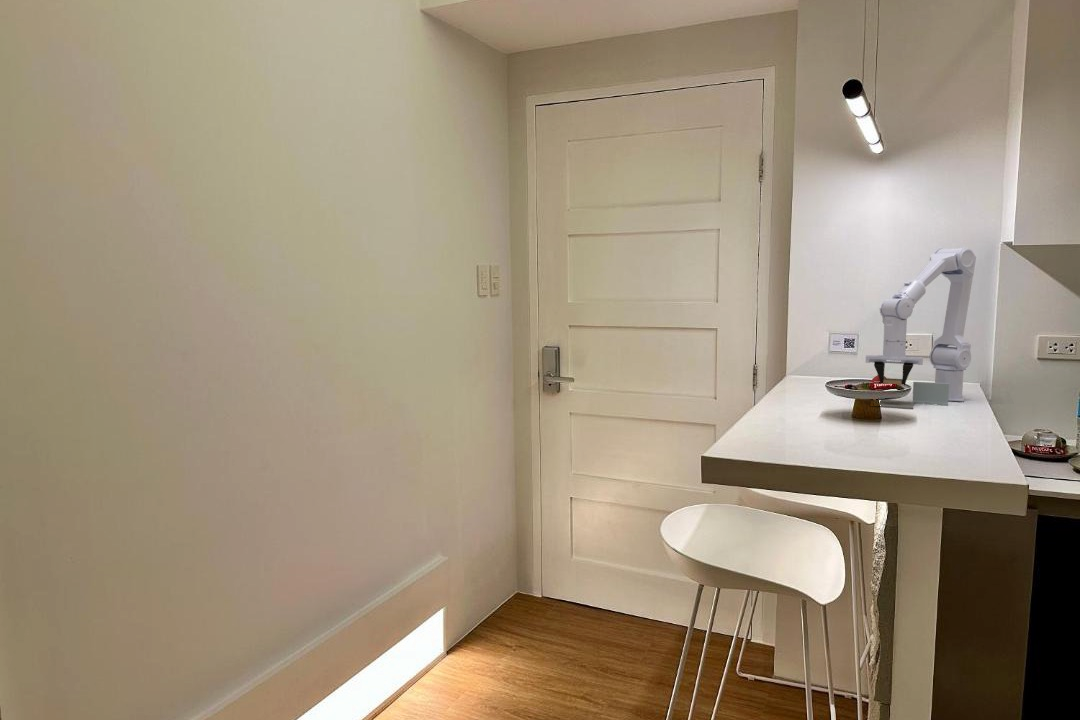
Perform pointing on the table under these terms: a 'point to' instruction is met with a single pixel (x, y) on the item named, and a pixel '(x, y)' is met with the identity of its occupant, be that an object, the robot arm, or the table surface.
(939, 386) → the screen
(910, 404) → the grey square plate
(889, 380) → the taped cardboard box
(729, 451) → the table surface
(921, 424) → the table surface
